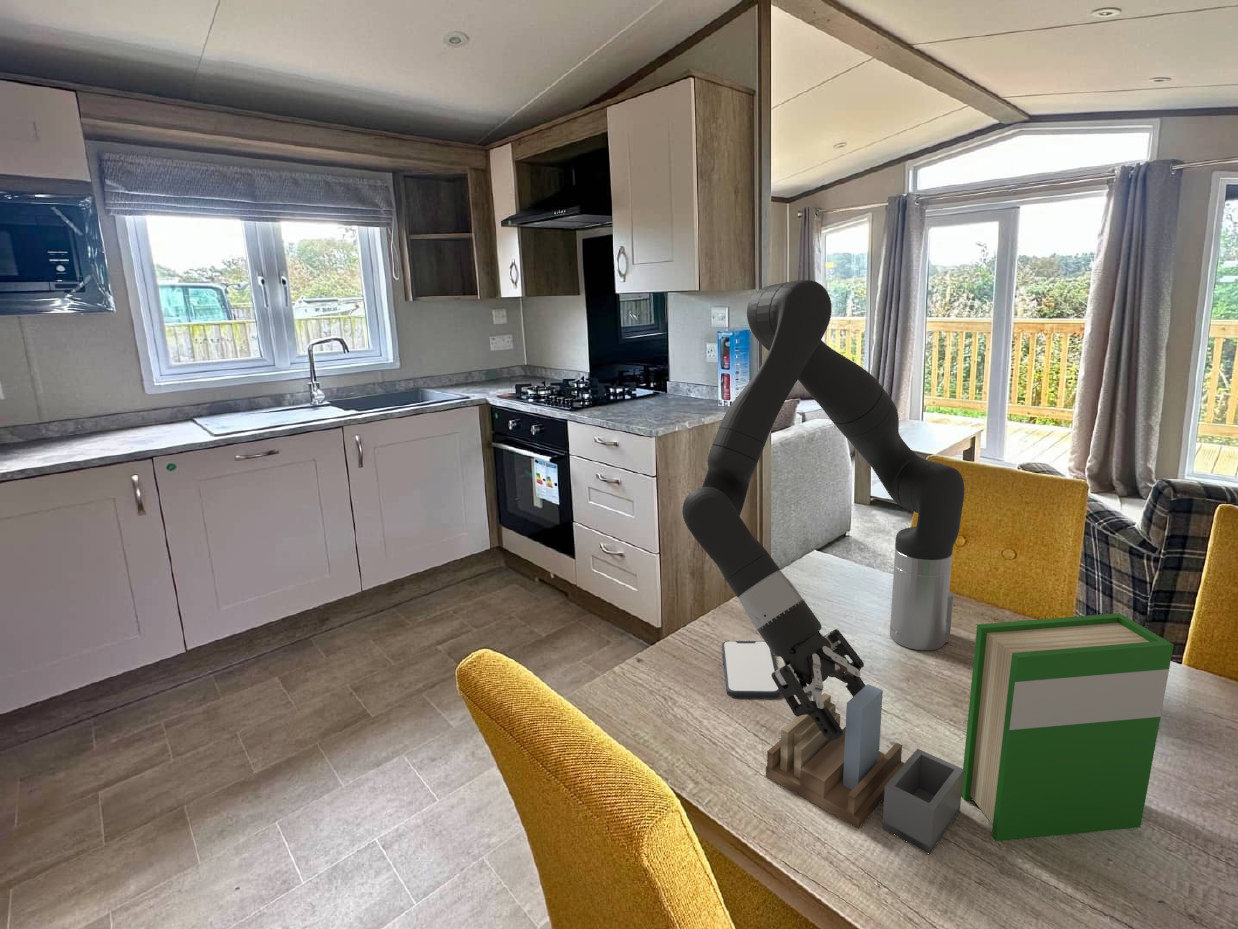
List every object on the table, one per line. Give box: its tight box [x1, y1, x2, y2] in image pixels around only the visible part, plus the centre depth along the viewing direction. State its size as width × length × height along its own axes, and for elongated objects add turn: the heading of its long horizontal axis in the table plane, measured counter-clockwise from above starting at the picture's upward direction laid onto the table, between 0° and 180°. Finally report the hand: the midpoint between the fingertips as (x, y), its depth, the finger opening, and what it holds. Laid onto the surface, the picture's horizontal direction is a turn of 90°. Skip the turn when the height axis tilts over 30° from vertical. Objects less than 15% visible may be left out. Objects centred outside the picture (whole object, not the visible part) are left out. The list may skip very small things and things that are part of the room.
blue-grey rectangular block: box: [843, 684, 884, 790], centre depth 85 cm, size 2×6×12 cm, turn 134°
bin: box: [881, 748, 964, 855], centre depth 81 cm, size 6×9×6 cm, turn 134°
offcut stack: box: [780, 692, 841, 778], centre depth 91 cm, size 3×11×6 cm, turn 134°
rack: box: [765, 726, 905, 829], centre depth 89 cm, size 13×13×4 cm
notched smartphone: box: [721, 640, 782, 699], centre depth 115 cm, size 9×2×16 cm
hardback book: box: [961, 612, 1174, 843], centre depth 79 cm, size 18×7×24 cm, turn 94°
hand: (854, 722), depth 85 cm, fingers open, 8 cm apart
